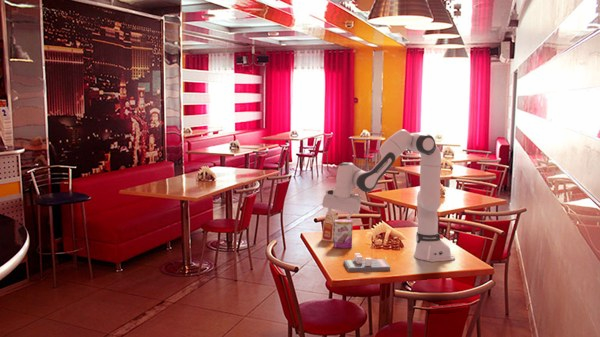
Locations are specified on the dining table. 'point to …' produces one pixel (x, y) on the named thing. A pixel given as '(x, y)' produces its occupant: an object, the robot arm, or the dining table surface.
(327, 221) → the milk carton
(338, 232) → the candy bar box
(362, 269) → the breaker panel
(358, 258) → the handle middle
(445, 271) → the dining table surface
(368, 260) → the handle
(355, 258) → the handle back
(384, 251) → the dining table surface
